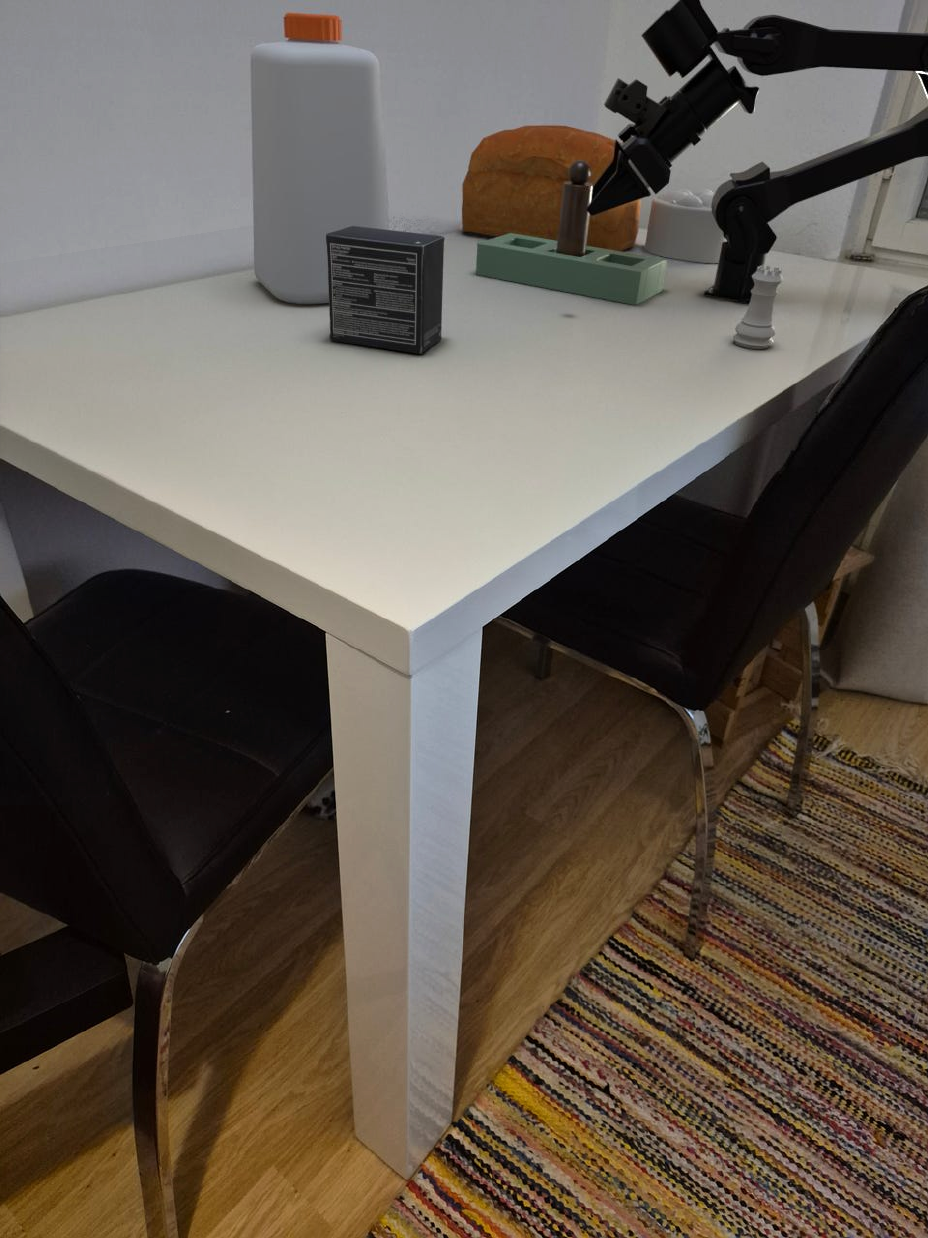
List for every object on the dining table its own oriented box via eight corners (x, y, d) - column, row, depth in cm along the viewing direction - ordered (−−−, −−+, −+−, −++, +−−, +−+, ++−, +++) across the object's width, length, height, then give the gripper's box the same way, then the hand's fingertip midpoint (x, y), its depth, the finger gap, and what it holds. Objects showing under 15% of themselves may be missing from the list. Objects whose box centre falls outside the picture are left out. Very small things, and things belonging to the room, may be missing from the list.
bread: (496, 220, 151) (502, 114, 142) (643, 242, 141) (660, 130, 132) (450, 234, 139) (454, 120, 130) (608, 260, 129) (624, 138, 120)
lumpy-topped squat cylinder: (718, 265, 129) (731, 201, 125) (634, 252, 134) (644, 190, 129) (735, 253, 137) (748, 192, 132) (656, 241, 142) (665, 182, 137)
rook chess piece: (775, 341, 98) (794, 267, 94) (769, 352, 95) (788, 275, 90) (735, 335, 100) (751, 261, 95) (728, 345, 96) (744, 269, 92)
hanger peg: (575, 278, 118) (589, 158, 110) (585, 286, 115) (600, 162, 107) (549, 279, 118) (561, 157, 109) (558, 286, 115) (571, 161, 106)
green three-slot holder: (508, 262, 124) (510, 232, 122) (662, 291, 115) (667, 259, 113) (475, 274, 118) (477, 242, 116) (636, 305, 108) (641, 271, 106)
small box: (444, 338, 93) (448, 233, 88) (422, 356, 88) (424, 245, 82) (354, 325, 96) (351, 222, 90) (327, 341, 91) (323, 232, 85)
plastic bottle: (360, 270, 116) (355, 15, 101) (403, 300, 105) (405, 19, 90) (248, 277, 111) (224, 8, 95) (280, 309, 100) (260, 11, 84)
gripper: (646, 49, 109) (549, 144, 116) (658, 53, 94) (545, 162, 101) (698, 125, 113) (601, 212, 120) (717, 140, 97) (605, 240, 104)
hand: (588, 206), depth 111 cm, fingers open, 9 cm apart
